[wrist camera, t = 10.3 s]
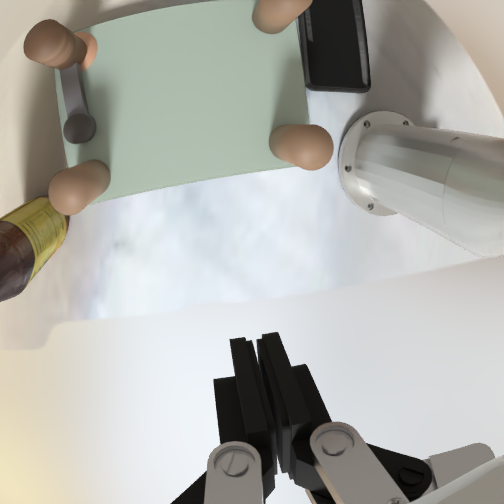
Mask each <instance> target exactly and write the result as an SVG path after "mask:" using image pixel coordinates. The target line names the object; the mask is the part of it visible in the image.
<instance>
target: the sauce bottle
mask: <svg viewBox="0 0 504 504" xmlns="http://www.w3.org/2000/svg"><path fill="white" fill-rule="evenodd" d="M68 226H69V220H68V217H67V215H63V214H61V213H59V212H58V211H56V210H55V209H54V207H53V206H52V204H51V202H50V200H49V197H44V196H40V197H38V198H36V199H32V200H30V201H28V202H26V203H25V204H23V205H21V206H19V207H18V208H16V209H14V210H13V211H11V212H9V213H8V214H6V215H5V216H3V217H1V218H0V302H1V301H4V300H7V299H10V298H13V297H15V296H17V295H19V294H20V293H21V292H22V291H23V290H24V289H25V288H26V286H27V285H28V284H29V282H30V281H31V280H32V279H33V277H34V276H35V275H36V274H37V273H38V272H39V270H40V269H41V268H42V267H43V266H44V264H45V263H46V262H47V261H48V260H49V258H50V257H51V256H52V255H53V254H54V253H55V252H56V251H57V249H58V248H59V247H60V246H61V245H62V243H63V241H64V240H65V237H66V234H67V231H68Z"/></svg>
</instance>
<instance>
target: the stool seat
mask: <svg viewBox="0 0 504 504" xmlns="http://www.w3.org/2000/svg"><path fill="white" fill-rule="evenodd" d="M311 3H312V0H217V1H208V2H199V3H192V4H185V5H178V6H172V7H167V8H161V9H156V10H151V11H147V12H142V13H138V14H133V15H129V16H125V17H122V18H118V19H114V20H111V21H107V22H104V23H100V24H97V25H94V26H91V27H88V28H85V29H82V30H79V31H76V32H73V33H74V34H75V35H77V36H78V37H79V38H81V39H82V40H83V41H84V42H85V43H86V46H87V53H86V57H85V59H84V60H83V62H82V63H81V64H80V66H81V72H82V79H83V85H84V90H85V96H86V101H87V106H88V111H89V115H90V116H92V117H93V118H94V120H95V122H96V133H95V135H94V136H93V138H92V139H91V140H90V141H88V142H85V143H80V144H71V143H69V142H68V141H67V140H66V139H65V137H64V134H63V127H64V124H65V122H66V120H67V119H68V118H67V113H66V107H65V102H64V96H63V90H62V84H61V78H60V71H59V70H58V69H56V68H54V73H55V84H56V94H57V102H58V110H59V118H60V124H61V131H62V137H63V143H64V149H65V154H66V159H67V164H68V168H67V169H65V170H62V171H60V172H58V173H57V174H56V175H55V176H54V177H53V178H52V180H51V182H50V184H49V189H48V195H49V200H50V202H51V204H52V206H53V207H54V209H55V210H56V211H58V212H59V213H61V214H63V215H74V214H77V213H79V212H80V211H81V210H83V209H84V208H85V207H86V206H87V205H91V204H95V203H99V202H103V201H107V200H111V199H115V198H120V197H124V196H129V195H133V194H138V193H142V192H147V191H152V190H157V189H162V188H167V187H172V186H177V185H182V184H187V183H193V182H198V181H204V180H209V179H215V178H221V177H227V176H233V175H240V174H246V173H253V172H260V171H267V170H274V169H281V168H289V167H297V166H298V167H300V168H303V169H305V170H318V169H320V168H322V167H324V166H325V165H326V164H327V163H328V162H329V161H330V159H331V157H332V155H333V149H334V147H333V141H332V138H331V136H330V134H329V133H328V132H327V131H326V130H325V129H324V128H322V127H320V126H318V125H309V116H308V107H307V98H306V90H305V82H304V75H303V67H302V60H301V53H300V46H299V40H298V33H297V27H296V21H295V19H296V18H297V17H298V16H299V15H300V14H301V13H302V12H304V11H305V10H306V9H307V8H308V7H309V6H310V5H311Z"/></svg>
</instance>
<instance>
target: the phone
mask: <svg viewBox="0 0 504 504" xmlns="http://www.w3.org/2000/svg"><path fill="white" fill-rule="evenodd" d="M298 21H299V32H300V42H301V54H302V66H303V75H304V82H305V86H306V87H307V88H308V89H309V90H311V91H326V92H346V93H366V92H368V91H369V90H370V87H371V79H370V66H369V55H368V45H367V36H366V28H365V20H364V13H363V6H362V0H312V3H311V5H310V6H309V7H308V8H307V9H306V10H305V11H304V12H302V13H301V14H300V15H299V16H298Z"/></svg>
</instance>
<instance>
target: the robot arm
mask: <svg viewBox="0 0 504 504" xmlns="http://www.w3.org/2000/svg"><path fill="white" fill-rule="evenodd" d="M364 123H365V125H364ZM338 166H339V175H340V180H341V183H342V186H343V188H344V191H345V192H346V194H347V195H348V197H349V198H350V200H351V201H352V202H353V203H354V204H355V205H356V206H358V207H359V208H361V209H362V210H364V211H365V212H367V213H369V214H373V215H376V216H390V215H394V214H397V213H399V214H401V215H403V216H405V217H407V218H409V219H410V220H412V221H414V222H416V223H418V224H420V225H422V226H424V227H426V228H427V229H429V230H431V231H433V232H435V233H437V234H438V235H440V236H442V237H444V238H446V239H447V240H449V241H451V242H453V243H454V244H456V245H458V246H460V247H462V248H464V249H465V250H467V251H469V252H471V253H473V254H475V255H478V256H481V257H487V258H494V257H500V256H503V255H504V139H503V138H497V137H492V136H486V135H479V134H473V133H467V132H460V131H453V130H445V129H437V128H428V127H418V126H415V125H414V124H413V123H412V122H411V121H410V120H409V119H408V118H406V117H405V116H403V115H401V114H399V113H396V112H391V111H376V112H371V113H368V114H366V115H364V116H362V117H361V118H360V119H358V120H357V121H356V122H355V123H354V124H353V125H352V126H351V127H350V128H349V130H348V131H347V133H346V135H345V137H344V139H343V141H342V144H341V147H340V152H339V159H338ZM345 166H346V169H345ZM368 204H369V205H368ZM230 346H231V353H232V359H233V366H234V372H235V376H233V377H226V378H218V379H214V391H215V401H216V410H217V418H218V428H219V436H220V444H221V445H219V446H218V447H217V448H215V449H214V450H213V451H212V453H211V454H210V456H209V459H208V464H207V471H206V472H205V473H204V474H203V475H202V476H201V477H199V478H198V479H197V480H196V481H195V482H194V483H193V484H192V485H191V486H190V487H189V488H187V489H186V490H185V491H184V492H183V493H182V494H181V495H180V496H179V497H178V498H176V499H175V500H174V501H173V502H172V503H171V504H266V498H267V497H268V496H269V495H270V494H271V492H272V491H273V490H274V488H275V478H274V475H276V474H277V457H278V461H279V464H280V468H281V471H282V473H286V472H288V474H289V478H290V479H294V482H295V484H296V485H298V486H301V487H303V488H305V491H306V493H307V495H308V497H309V499H310V501H311V503H312V504H504V455H503V456H500V457H497V458H495V456H494V453H493V451H492V450H491V448H490V447H488V446H487V445H485V444H482V443H475V444H471V445H468V446H465V447H462V448H459V449H455V450H452V451H448V452H444V453H440V454H436V455H432V456H429V458H428V459H425V460H420V459H417V458H414V457H410V456H407V455H403V454H400V453H396V452H393V451H390V450H386V449H383V448H380V447H377V446H374V445H371V444H368V443H365V441H364V440H363V439H362V437H361V436H360V435H359V433H358V432H357V431H356V430H355V429H354V428H353V427H352V426H350V425H348V424H346V423H342V422H332V420H331V418H330V416H329V414H328V411H327V409H326V407H325V405H324V402H323V400H322V398H321V396H320V393H319V391H318V389H317V387H316V384H315V382H314V380H313V378H312V376H311V373H310V371H309V369H308V367H307V365H306V364H302V365H297V366H292V367H291V364H290V362H289V359H288V356H287V354H286V351H285V349H284V346H283V344H282V341H281V338H280V336H279V333H278V332H274V333H268V334H262V339H257V353H258V361H257V357H256V353H255V350H254V346H253V343H252V340H250V341H246V338H245V337H242V338H235V339H230ZM258 364H259V365H258Z"/></svg>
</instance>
